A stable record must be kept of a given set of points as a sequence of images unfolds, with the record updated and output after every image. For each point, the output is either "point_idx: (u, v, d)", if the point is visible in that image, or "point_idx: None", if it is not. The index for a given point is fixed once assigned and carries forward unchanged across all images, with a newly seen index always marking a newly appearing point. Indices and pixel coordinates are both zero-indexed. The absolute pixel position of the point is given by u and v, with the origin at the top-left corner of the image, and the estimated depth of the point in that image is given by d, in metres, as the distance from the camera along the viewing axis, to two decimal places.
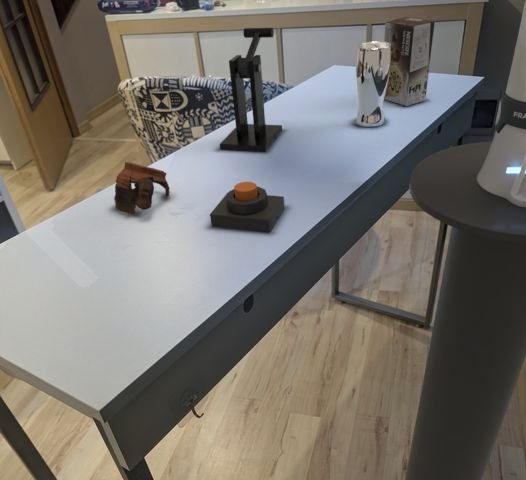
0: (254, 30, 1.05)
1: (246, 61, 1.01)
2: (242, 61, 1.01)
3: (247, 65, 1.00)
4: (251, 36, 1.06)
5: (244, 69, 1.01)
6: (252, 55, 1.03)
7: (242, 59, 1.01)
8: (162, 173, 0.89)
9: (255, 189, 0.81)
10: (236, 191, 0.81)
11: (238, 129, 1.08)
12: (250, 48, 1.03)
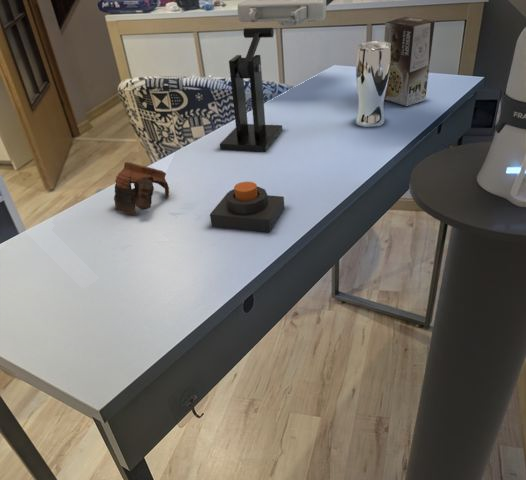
0: (254, 30, 1.05)
1: (246, 61, 1.01)
2: (242, 61, 1.01)
3: (247, 65, 1.00)
4: (251, 36, 1.06)
5: (244, 69, 1.01)
6: (252, 55, 1.03)
7: (242, 59, 1.01)
8: (162, 173, 0.89)
9: (255, 189, 0.81)
10: (236, 191, 0.81)
11: (238, 129, 1.08)
12: (250, 48, 1.03)
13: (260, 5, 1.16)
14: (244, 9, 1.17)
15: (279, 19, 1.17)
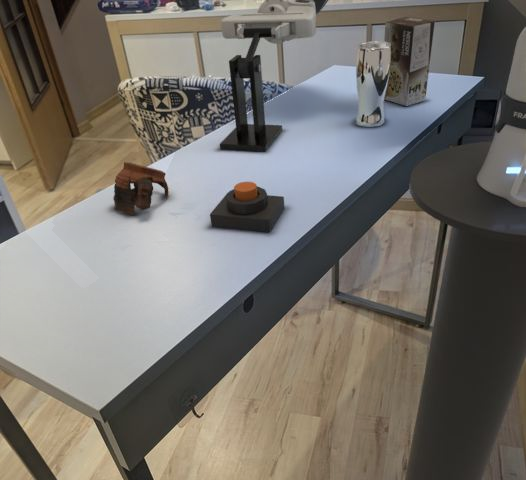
0: (254, 30, 1.05)
1: (246, 61, 1.01)
2: (242, 61, 1.01)
3: (247, 65, 1.00)
4: (251, 36, 1.06)
5: (244, 69, 1.01)
6: (252, 55, 1.03)
7: (242, 59, 1.01)
8: (161, 173, 0.89)
9: (255, 189, 0.81)
10: (236, 191, 0.81)
11: (238, 129, 1.08)
12: (250, 48, 1.03)
13: (245, 21, 1.08)
14: (228, 25, 1.10)
15: None
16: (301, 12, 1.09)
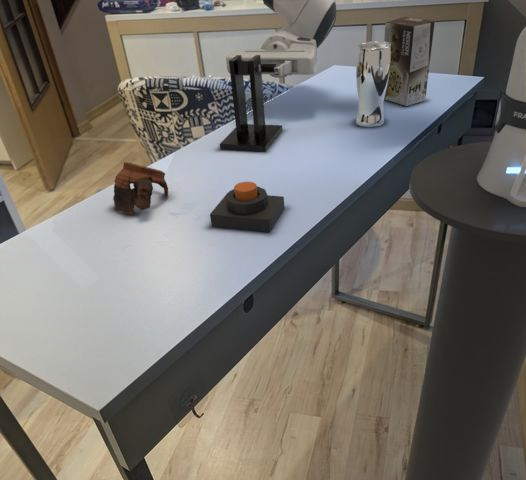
0: None
1: None
2: None
3: None
4: None
5: (244, 63, 1.00)
6: None
7: None
8: (161, 173, 0.89)
9: (255, 189, 0.81)
10: (236, 191, 0.81)
11: (238, 129, 1.08)
12: None
13: (249, 58, 1.13)
14: None
15: None
16: (303, 50, 1.14)
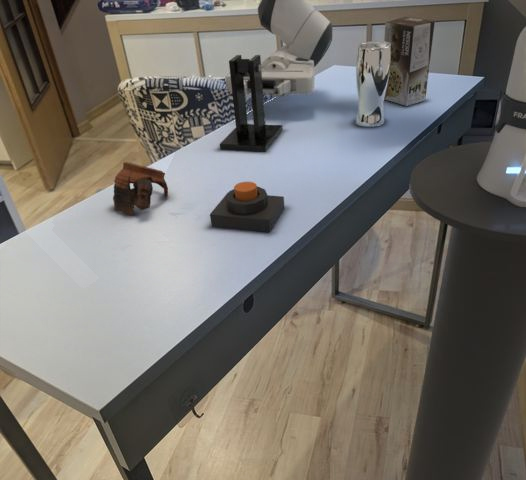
0: None
1: None
2: None
3: None
4: None
5: (245, 60, 1.00)
6: None
7: None
8: (161, 173, 0.89)
9: (255, 189, 0.81)
10: (236, 191, 0.81)
11: (238, 129, 1.08)
12: None
13: (248, 77, 1.15)
14: None
15: (267, 91, 1.16)
16: (301, 70, 1.16)
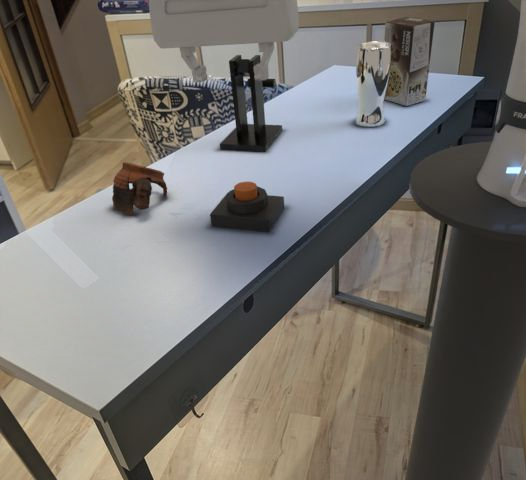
0: None
1: None
2: None
3: None
4: None
5: (244, 61, 1.00)
6: None
7: None
8: (160, 173, 0.89)
9: (255, 189, 0.81)
10: (236, 191, 0.81)
11: (238, 129, 1.08)
12: None
13: (193, 46, 0.70)
14: None
15: None
16: None
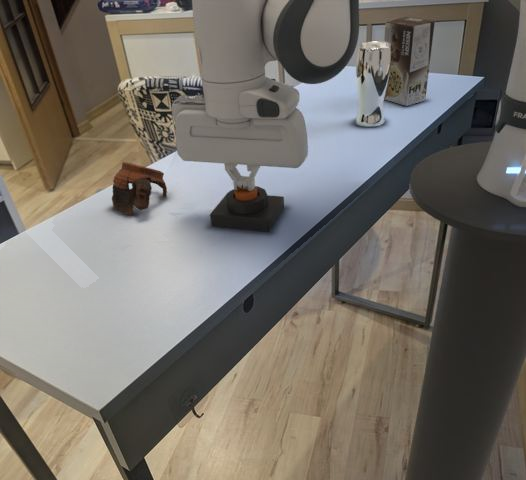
0: None
1: None
2: None
3: None
4: None
5: None
6: None
7: None
8: (159, 173, 0.89)
9: (255, 192, 0.82)
10: (236, 194, 0.82)
11: None
12: None
13: (213, 162, 0.79)
14: None
15: None
16: (276, 129, 0.72)
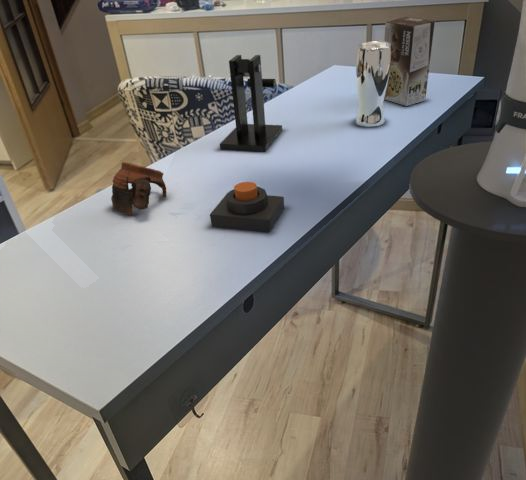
0: None
1: None
2: None
3: None
4: None
5: (244, 61, 1.00)
6: None
7: None
8: (159, 173, 0.89)
9: (255, 189, 0.81)
10: (236, 191, 0.81)
11: (238, 129, 1.08)
12: None
13: None
14: None
15: None
16: None
